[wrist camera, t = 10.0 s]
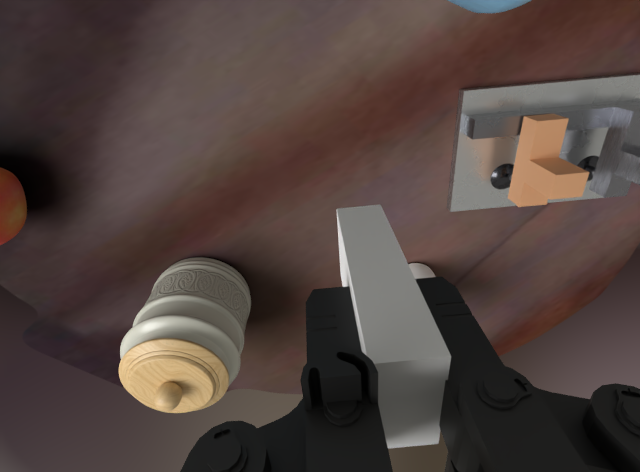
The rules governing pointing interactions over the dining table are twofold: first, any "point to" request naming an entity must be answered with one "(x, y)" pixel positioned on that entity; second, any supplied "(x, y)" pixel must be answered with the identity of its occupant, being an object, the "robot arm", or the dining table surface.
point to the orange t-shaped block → (543, 164)
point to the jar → (187, 337)
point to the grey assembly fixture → (578, 144)
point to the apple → (11, 206)
